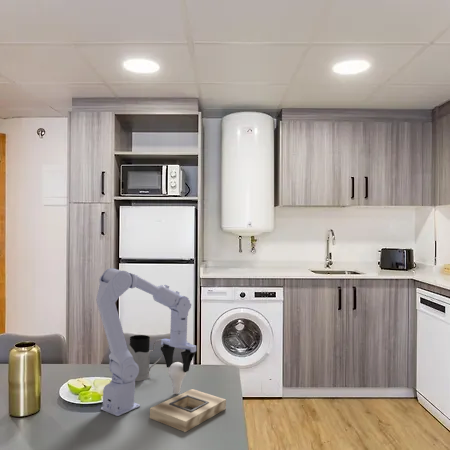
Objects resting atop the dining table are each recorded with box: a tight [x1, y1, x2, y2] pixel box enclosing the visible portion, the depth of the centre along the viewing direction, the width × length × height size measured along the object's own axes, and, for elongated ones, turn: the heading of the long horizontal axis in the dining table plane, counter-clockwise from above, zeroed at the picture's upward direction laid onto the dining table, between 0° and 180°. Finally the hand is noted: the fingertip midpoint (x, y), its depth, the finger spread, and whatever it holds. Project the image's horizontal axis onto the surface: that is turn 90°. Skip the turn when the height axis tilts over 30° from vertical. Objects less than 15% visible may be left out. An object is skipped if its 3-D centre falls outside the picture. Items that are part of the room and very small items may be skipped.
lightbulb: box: [167, 361, 187, 396], centre depth 148 cm, size 6×6×11 cm
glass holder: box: [128, 334, 164, 382], centre depth 165 cm, size 9×14×15 cm, turn 108°
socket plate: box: [149, 388, 227, 433], centre depth 133 cm, size 20×14×3 cm
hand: (177, 369), depth 148 cm, fingers open, 7 cm apart
